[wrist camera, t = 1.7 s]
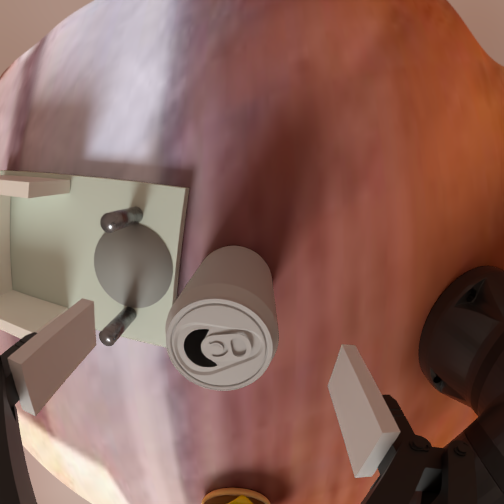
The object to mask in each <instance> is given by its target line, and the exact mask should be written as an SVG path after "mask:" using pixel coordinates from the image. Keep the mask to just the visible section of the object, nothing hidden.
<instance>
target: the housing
mask: <svg viewBox="0 0 504 504" xmlns="http://www.w3.org/2000/svg"><path fill="white" fill-rule="evenodd" d="M70 181H71V180H66V179H54V178H42V177H30V176H16V175H0V329H1V330H3V331H5V332H7V333H9V334H12V335H14V336H16V337H18V338H21V339H22V338H23V337H24V336H26V335H28V334H30V333H33V332H36V333H38V332H40V331H41V330H42V329H43V328H45V327H46V326H47V325H48V324H50V323H51V322H52V321H53V320H55V319H56V318H57V317H58V316H60V315H61V314H62V313H64V312H65V311H66V310H68V308H67V307H64V306H60V305H57V304H54V303H51V302H48V301H45V300H41V299H38V298H35V297H32V296H29V295H27V294H24V293H21V292H18V291H15V290H13V287H12V275H11V258H10V203H11V196H13V197H21V198H34V197H42V196H50V195H58V194H67V193H69V192H70Z"/></svg>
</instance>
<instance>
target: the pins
mask: <svg viewBox="0 0 504 504" xmlns="http://www.w3.org/2000/svg"><path fill="white" fill-rule="evenodd" d="M142 218H143V212H142V210H141V209H140V208H139V207H136V206H135V207H130V208H126V209H121V210H117V211H113V212H109V213H105V214H104V215H103V216H102V217H101V220H100V225H101V228H102V229H103V230H104V231H105V232H107V233H112V232H115V231H117V230H120V229H123V228H125V227H128V226H131V225H133V224H136V223H139V222H140V221H141V220H142ZM136 316H137V314H136V311H135V310H134V309H133V308H132V307H128V306H127V307H125V308H124V309H123V310H122V311H121V312H120V313H119V314H118V315H117V316H116V317H115V318H114V319H113V320H112V321H111V322H110V323H109V324H108V325H107V326H106V327H105V328H104V329H103V330H102V331H101V332H100V333H99V338H100V340H101V342H102V343H103V344H104V345H106V346H112V345H113V344H114V343H115V342H116V341H117V339H118V338H119V337H120V336H121V335H122V334H123V332H124V331H125V330H126V329H127V328H128V327H129V325H130V324H131V323H132V322H133V321H134V320H135V318H136Z"/></svg>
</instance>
